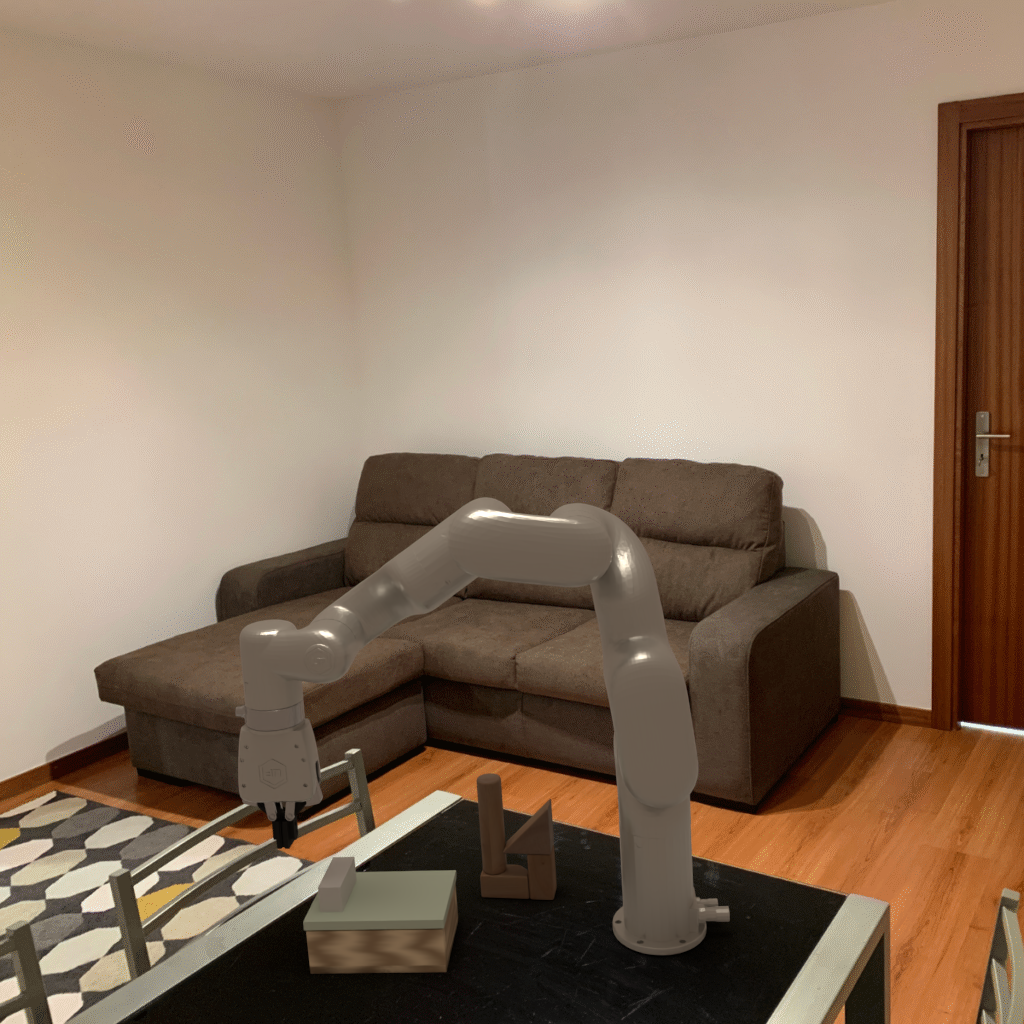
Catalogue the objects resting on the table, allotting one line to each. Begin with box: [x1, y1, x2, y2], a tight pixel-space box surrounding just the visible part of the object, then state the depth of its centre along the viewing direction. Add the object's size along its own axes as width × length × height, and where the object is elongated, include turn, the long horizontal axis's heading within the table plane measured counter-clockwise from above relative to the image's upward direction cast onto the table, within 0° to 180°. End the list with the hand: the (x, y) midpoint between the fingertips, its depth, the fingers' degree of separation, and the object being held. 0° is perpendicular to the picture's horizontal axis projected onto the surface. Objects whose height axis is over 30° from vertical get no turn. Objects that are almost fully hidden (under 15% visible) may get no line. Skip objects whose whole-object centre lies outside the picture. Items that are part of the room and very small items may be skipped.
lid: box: [302, 856, 458, 931], centre depth 137 cm, size 18×12×5 cm
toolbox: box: [305, 883, 459, 975], centre depth 137 cm, size 18×12×6 cm, turn 85°
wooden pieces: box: [476, 772, 557, 901], centre depth 148 cm, size 4×11×18 cm, turn 80°
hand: (286, 843), depth 137 cm, fingers closed
